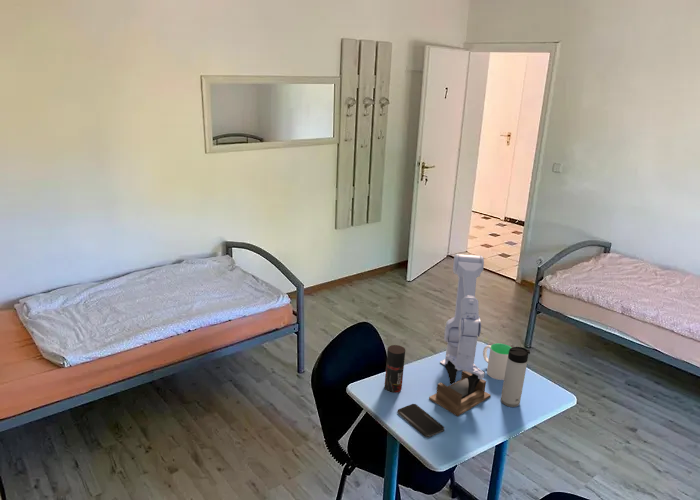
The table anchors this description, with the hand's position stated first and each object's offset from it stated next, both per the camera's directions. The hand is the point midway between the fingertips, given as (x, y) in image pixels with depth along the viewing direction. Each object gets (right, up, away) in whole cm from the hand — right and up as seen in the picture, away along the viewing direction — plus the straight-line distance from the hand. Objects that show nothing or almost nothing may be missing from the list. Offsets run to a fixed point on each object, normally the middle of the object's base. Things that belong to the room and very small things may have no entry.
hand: (461, 387), depth 186 cm
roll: (-1, -3, +1) cm, 3 cm away
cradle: (0, -4, +1) cm, 4 cm away
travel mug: (+17, -5, +1) cm, 17 cm away
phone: (-15, -8, -12) cm, 21 cm away
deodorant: (-23, -1, +5) cm, 23 cm away
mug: (+16, +1, +19) cm, 25 cm away
